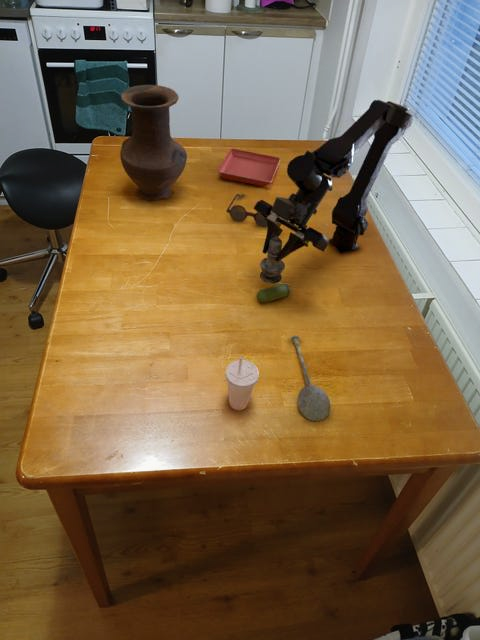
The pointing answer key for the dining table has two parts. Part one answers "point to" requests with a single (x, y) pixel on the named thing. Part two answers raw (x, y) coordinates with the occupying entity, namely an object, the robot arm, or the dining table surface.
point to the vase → (152, 142)
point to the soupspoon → (311, 395)
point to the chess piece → (272, 263)
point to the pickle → (273, 292)
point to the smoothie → (241, 382)
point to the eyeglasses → (244, 214)
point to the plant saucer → (249, 167)
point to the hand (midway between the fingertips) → (270, 257)
